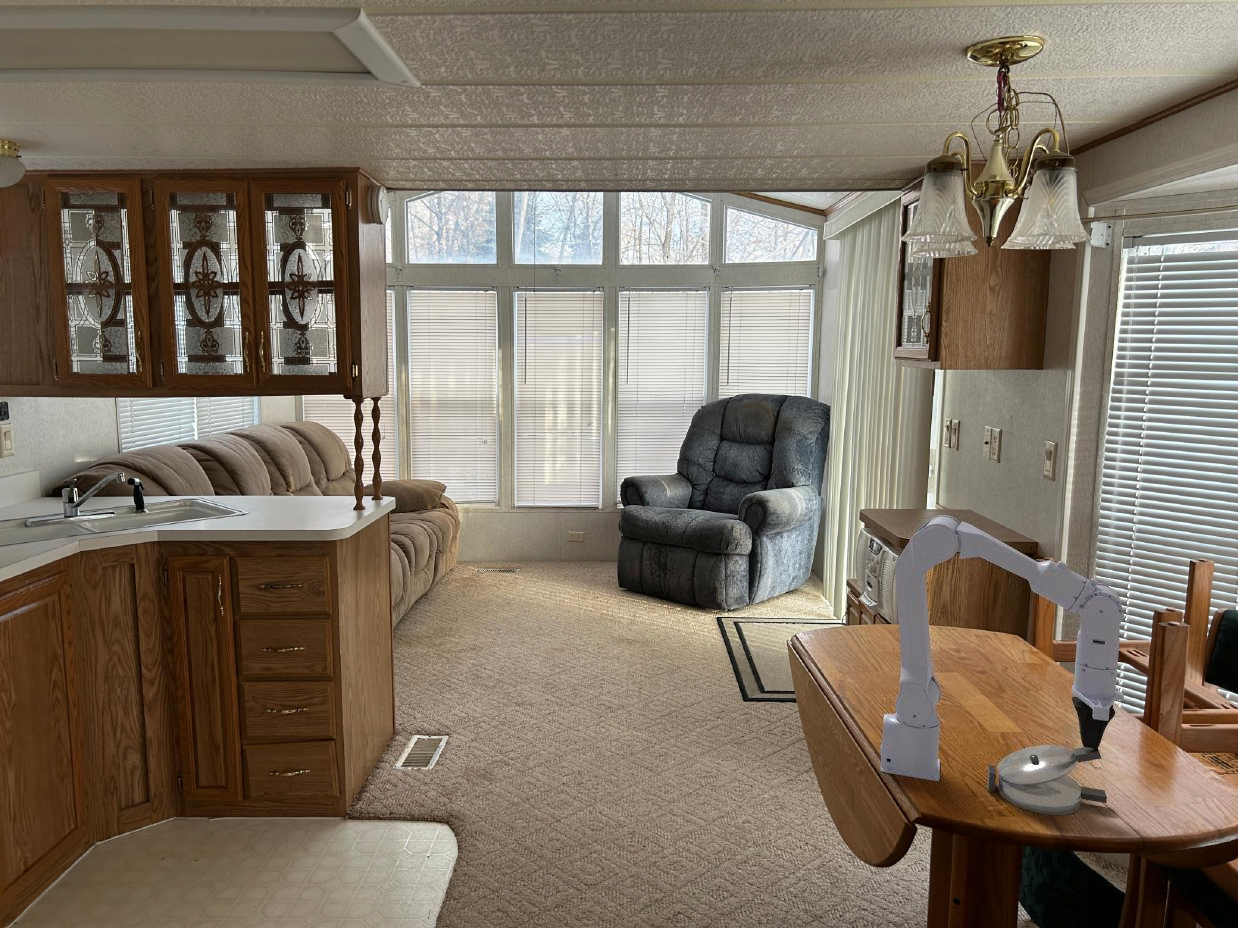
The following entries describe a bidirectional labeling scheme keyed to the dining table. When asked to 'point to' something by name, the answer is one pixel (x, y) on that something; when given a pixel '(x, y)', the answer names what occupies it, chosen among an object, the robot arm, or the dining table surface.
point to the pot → (1046, 794)
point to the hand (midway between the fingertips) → (1089, 746)
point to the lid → (1042, 763)
